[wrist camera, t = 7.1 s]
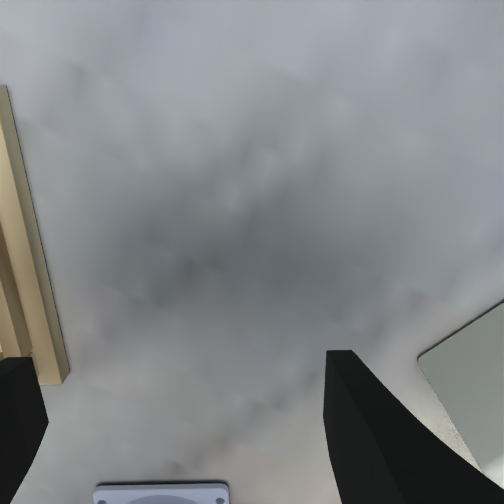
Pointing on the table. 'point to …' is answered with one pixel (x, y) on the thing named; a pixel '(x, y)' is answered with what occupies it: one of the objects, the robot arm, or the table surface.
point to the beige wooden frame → (24, 268)
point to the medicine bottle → (474, 387)
